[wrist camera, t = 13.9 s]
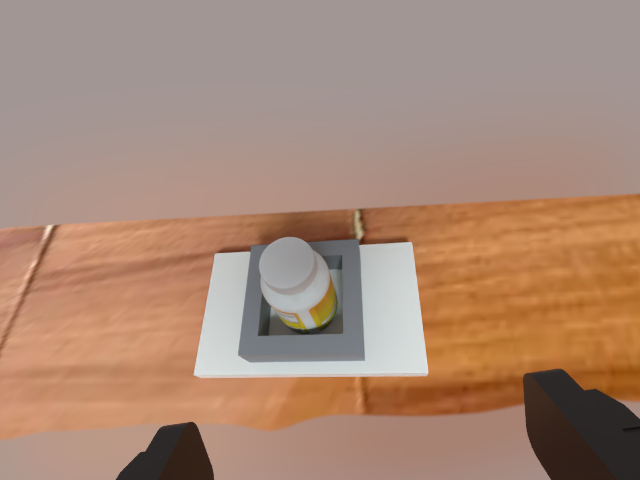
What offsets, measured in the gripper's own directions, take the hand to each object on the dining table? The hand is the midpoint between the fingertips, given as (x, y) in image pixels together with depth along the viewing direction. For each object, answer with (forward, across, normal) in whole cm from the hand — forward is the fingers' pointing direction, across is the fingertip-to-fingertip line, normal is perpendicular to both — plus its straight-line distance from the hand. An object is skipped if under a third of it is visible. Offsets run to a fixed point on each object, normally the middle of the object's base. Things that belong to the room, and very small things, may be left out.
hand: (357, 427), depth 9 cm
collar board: (+24, +4, +8) cm, 26 cm away
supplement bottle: (+23, +4, +8) cm, 25 cm away
